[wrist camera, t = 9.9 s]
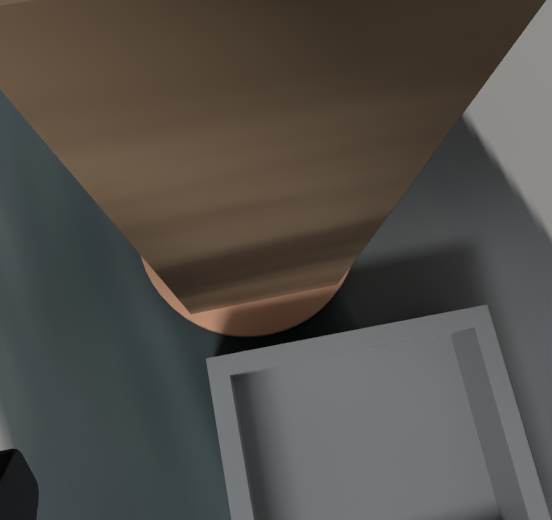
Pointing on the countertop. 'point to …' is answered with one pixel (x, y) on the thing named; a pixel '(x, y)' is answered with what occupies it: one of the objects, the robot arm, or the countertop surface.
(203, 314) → the brown curved piece
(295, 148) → the walnut box
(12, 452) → the robot arm
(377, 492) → the gray tray
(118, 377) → the countertop surface
